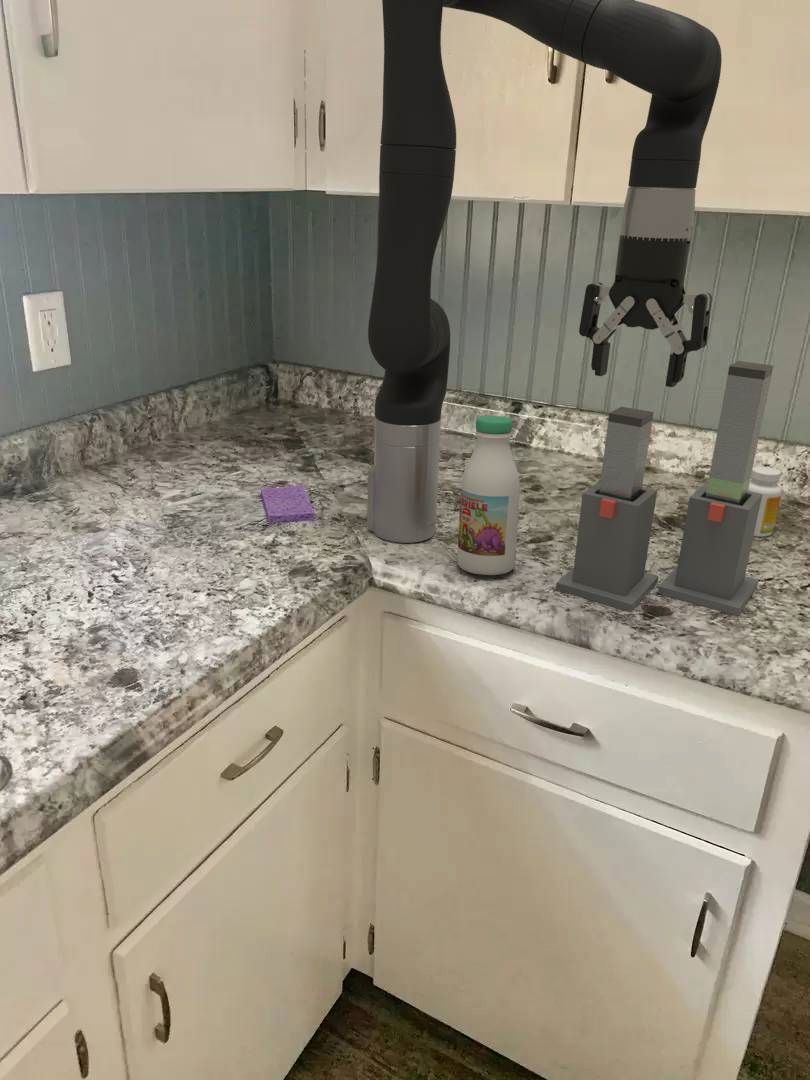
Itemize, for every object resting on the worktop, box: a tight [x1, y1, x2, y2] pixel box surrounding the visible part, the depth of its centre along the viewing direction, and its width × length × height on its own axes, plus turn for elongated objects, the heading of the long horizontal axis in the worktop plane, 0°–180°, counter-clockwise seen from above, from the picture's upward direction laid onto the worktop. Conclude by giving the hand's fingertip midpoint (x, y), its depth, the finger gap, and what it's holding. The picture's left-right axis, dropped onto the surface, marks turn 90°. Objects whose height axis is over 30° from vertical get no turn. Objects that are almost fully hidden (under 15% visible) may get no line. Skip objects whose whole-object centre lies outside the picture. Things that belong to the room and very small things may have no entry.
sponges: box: [260, 484, 315, 524], centre depth 131 cm, size 7×13×2 cm, turn 14°
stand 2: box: [657, 481, 762, 616], centre depth 106 cm, size 10×10×13 cm
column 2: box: [705, 360, 774, 506], centre depth 101 cm, size 4×4×22 cm
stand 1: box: [555, 481, 660, 613], centre depth 106 cm, size 10×10×13 cm
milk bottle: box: [456, 415, 521, 576], centre depth 109 cm, size 8×8×20 cm
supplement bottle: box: [748, 465, 783, 538], centre depth 126 cm, size 5×5×10 cm
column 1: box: [599, 406, 654, 502], centre depth 104 cm, size 4×4×22 cm
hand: (635, 380), depth 98 cm, fingers open, 8 cm apart
